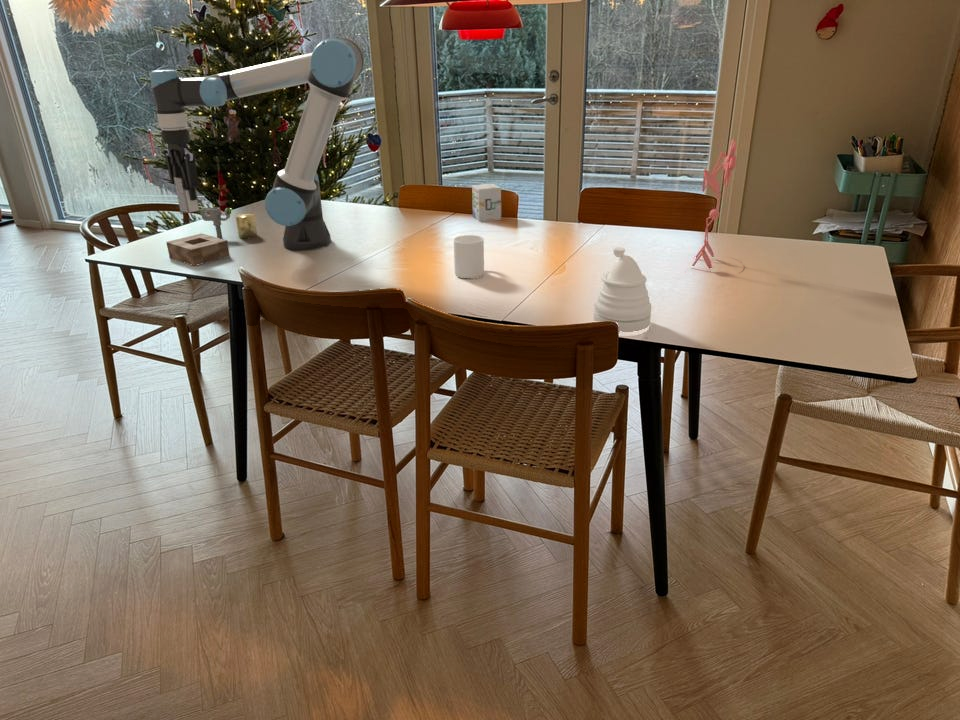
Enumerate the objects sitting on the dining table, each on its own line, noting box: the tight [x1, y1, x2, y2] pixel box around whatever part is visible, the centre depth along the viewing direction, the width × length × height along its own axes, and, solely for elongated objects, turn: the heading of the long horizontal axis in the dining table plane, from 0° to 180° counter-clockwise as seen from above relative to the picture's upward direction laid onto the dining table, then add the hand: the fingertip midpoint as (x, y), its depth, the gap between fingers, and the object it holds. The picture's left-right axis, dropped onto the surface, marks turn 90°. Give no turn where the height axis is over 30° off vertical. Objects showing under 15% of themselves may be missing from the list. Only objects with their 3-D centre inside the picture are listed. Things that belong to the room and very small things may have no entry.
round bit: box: [235, 213, 258, 240], centre depth 234 cm, size 6×6×7 cm
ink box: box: [471, 182, 502, 223], centre depth 250 cm, size 9×8×12 cm
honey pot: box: [593, 246, 652, 332], centre depth 158 cm, size 13×13×18 cm
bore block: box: [165, 232, 231, 266], centre depth 214 cm, size 14×12×5 cm
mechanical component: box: [198, 207, 232, 239], centre depth 232 cm, size 3×10×10 cm, turn 89°
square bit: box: [174, 176, 201, 214], centre depth 207 cm, size 4×4×10 cm
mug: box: [453, 234, 485, 280], centre depth 195 cm, size 12×8×10 cm
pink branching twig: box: [691, 138, 738, 270], centre depth 192 cm, size 15×26×35 cm, turn 158°
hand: (189, 209), depth 209 cm, fingers closed on square bit, 4 cm apart
